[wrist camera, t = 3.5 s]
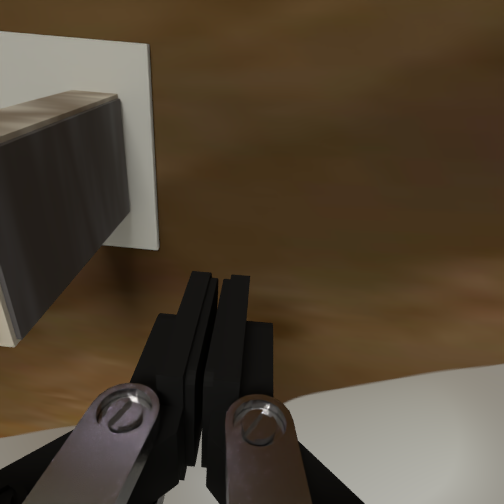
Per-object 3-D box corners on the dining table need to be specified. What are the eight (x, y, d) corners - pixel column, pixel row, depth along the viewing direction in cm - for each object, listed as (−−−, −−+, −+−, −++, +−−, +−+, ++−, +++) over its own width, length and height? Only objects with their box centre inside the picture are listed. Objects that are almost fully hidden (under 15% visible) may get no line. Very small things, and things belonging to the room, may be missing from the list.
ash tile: (121, 94, 21) (-38, 153, 10) (131, 213, 24) (20, 347, 14) (71, 89, 21) (-137, 144, 10) (89, 209, 24) (-55, 340, 14)
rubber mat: (149, 44, 20) (147, 44, 20) (159, 247, 26) (157, 250, 25) (-192, 14, 20) (-200, 14, 20) (-105, 222, 26) (-110, 224, 26)
